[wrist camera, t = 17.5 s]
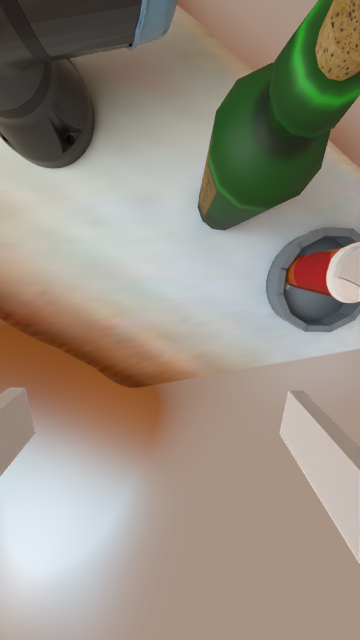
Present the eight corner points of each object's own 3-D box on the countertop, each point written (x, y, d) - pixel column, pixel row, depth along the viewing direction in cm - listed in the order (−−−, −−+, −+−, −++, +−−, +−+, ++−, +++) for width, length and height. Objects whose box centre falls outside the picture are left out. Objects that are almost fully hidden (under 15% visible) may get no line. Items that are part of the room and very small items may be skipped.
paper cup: (325, 269, 38) (408, 270, 25) (295, 300, 40) (358, 316, 26) (299, 240, 37) (372, 224, 23) (268, 273, 38) (320, 276, 25)
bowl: (273, 231, 37) (286, 226, 33) (366, 234, 38) (390, 230, 34) (260, 324, 42) (270, 331, 38) (344, 326, 43) (363, 332, 38)
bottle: (229, 156, 34) (440, -267, 7) (262, 211, 37) (516, 48, 10) (179, 198, 36) (200, -24, 9) (214, 249, 38) (317, 201, 11)
